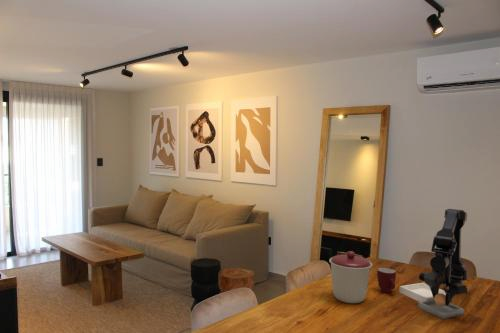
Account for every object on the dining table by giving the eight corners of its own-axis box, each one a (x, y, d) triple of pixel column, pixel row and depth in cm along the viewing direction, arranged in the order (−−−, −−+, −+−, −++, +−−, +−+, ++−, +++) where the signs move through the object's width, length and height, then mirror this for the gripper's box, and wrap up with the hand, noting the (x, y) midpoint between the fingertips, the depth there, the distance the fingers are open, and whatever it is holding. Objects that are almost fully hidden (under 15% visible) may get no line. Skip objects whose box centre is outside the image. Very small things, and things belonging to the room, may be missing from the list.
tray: (438, 303, 167) (438, 298, 167) (463, 314, 156) (464, 309, 156) (418, 307, 162) (418, 302, 162) (442, 319, 151) (443, 313, 151)
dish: (423, 288, 185) (423, 282, 185) (451, 300, 171) (451, 293, 171) (399, 292, 179) (399, 286, 179) (426, 305, 165) (427, 298, 165)
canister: (377, 299, 170) (380, 251, 169) (358, 311, 156) (360, 259, 155) (341, 288, 182) (342, 244, 181) (319, 298, 169) (321, 250, 168)
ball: (439, 302, 163) (440, 290, 162) (450, 307, 158) (450, 295, 158) (431, 304, 160) (431, 292, 160) (441, 308, 156) (442, 296, 156)
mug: (402, 296, 175) (403, 274, 174) (387, 297, 172) (388, 275, 172) (387, 287, 185) (388, 267, 184) (372, 289, 182) (373, 268, 182)
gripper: (410, 261, 164) (408, 297, 164) (449, 274, 147) (447, 315, 147) (429, 258, 168) (427, 294, 169) (469, 271, 151) (467, 310, 152)
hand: (441, 302), depth 159 cm, fingers open, 5 cm apart
